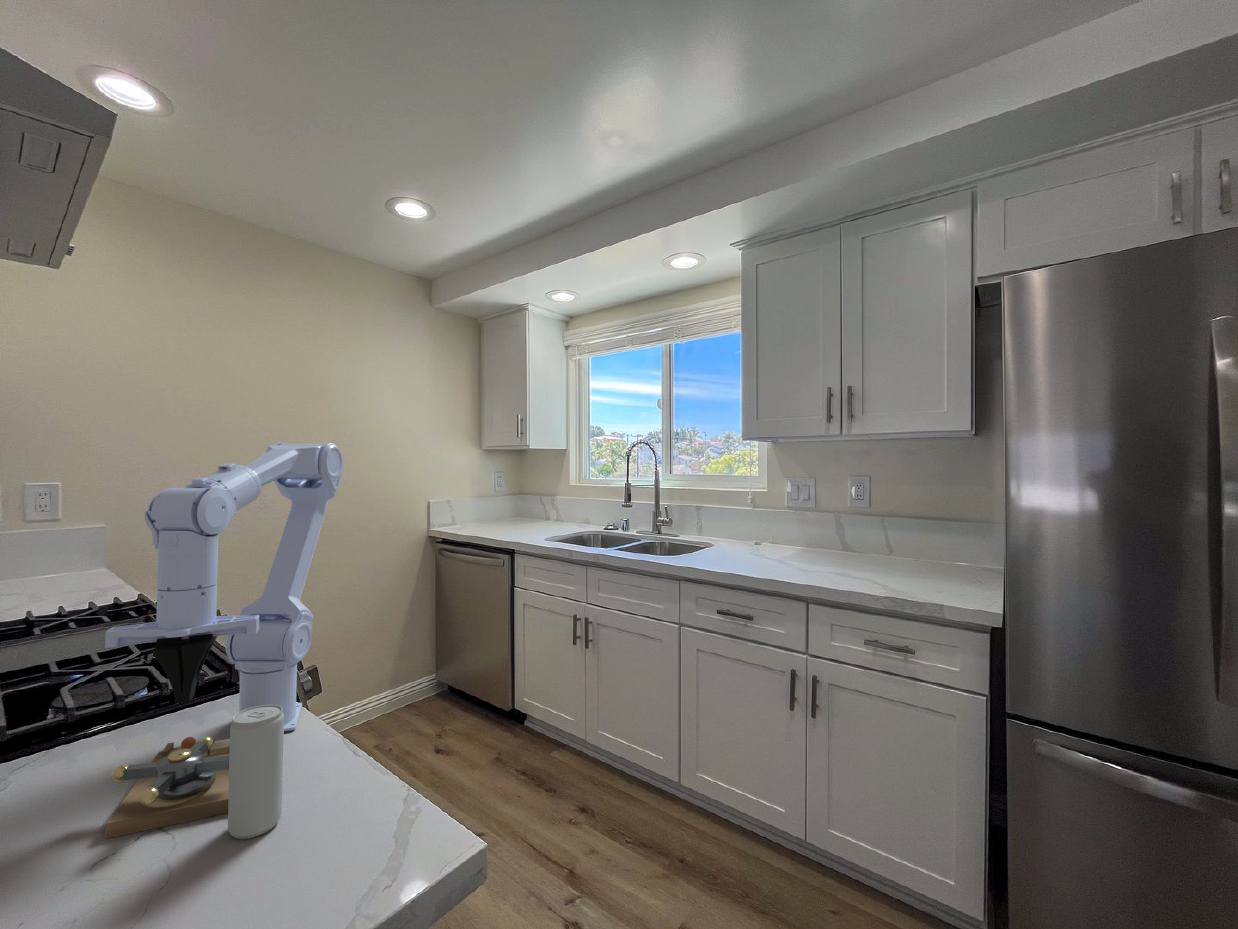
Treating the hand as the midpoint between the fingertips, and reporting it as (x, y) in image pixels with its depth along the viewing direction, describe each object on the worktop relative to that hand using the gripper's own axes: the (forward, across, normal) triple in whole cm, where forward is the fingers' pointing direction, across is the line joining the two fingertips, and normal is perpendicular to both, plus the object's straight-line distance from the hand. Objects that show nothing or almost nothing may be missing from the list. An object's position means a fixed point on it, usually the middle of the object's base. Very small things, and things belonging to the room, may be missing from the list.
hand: (185, 699), depth 65 cm
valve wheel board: (+10, +2, 0) cm, 10 cm away
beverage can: (+10, +9, -12) cm, 19 cm away
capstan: (+8, +1, -4) cm, 9 cm away
